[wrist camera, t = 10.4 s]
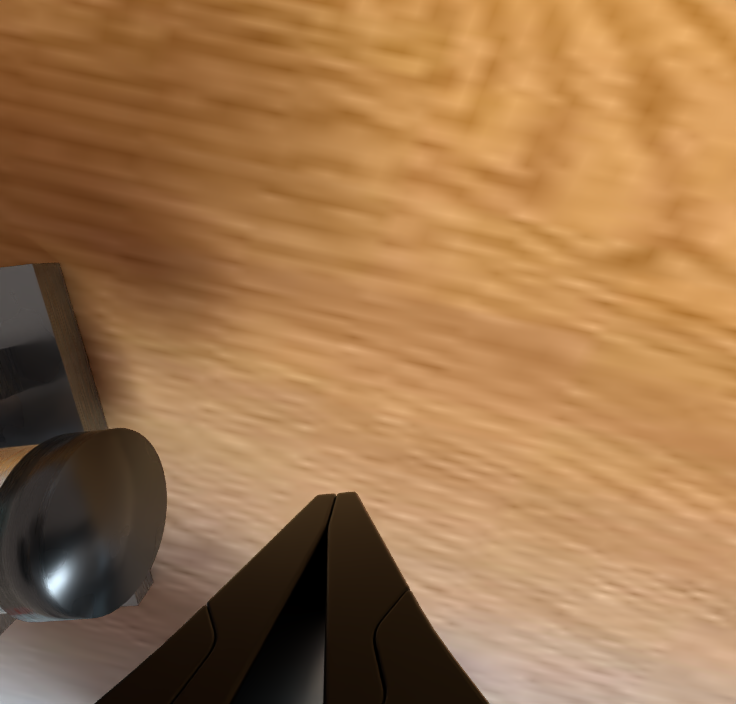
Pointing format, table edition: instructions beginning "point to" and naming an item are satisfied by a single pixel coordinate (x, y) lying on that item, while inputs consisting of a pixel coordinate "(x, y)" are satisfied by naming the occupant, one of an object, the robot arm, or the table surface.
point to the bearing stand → (44, 369)
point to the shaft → (78, 523)
